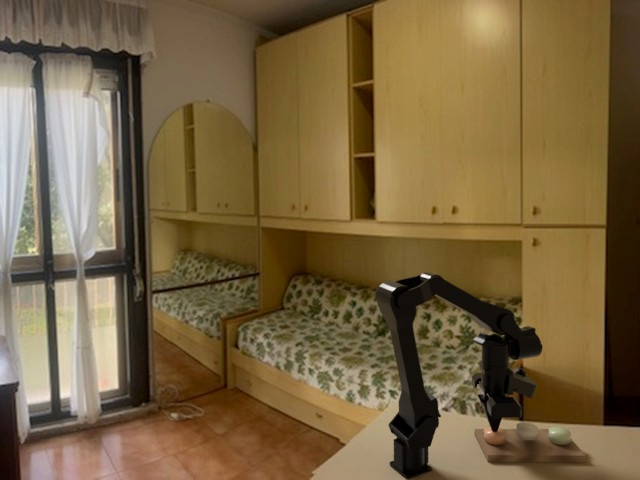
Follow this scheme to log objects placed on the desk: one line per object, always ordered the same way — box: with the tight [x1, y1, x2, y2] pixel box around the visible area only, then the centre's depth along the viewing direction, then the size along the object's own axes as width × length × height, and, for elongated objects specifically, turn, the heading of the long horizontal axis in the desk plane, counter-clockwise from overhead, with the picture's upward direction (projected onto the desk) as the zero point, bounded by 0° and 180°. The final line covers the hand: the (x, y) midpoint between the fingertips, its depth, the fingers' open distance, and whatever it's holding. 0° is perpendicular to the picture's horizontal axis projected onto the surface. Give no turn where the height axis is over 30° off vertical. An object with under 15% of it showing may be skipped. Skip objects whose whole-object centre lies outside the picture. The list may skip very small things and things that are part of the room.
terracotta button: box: [483, 426, 505, 445], centre depth 117 cm, size 4×4×2 cm
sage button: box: [548, 426, 572, 445], centre depth 117 cm, size 4×4×2 cm
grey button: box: [515, 422, 539, 440], centre depth 117 cm, size 4×4×2 cm
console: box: [473, 428, 586, 463], centre depth 117 cm, size 20×12×2 cm, turn 87°
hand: (494, 431), depth 117 cm, fingers closed
